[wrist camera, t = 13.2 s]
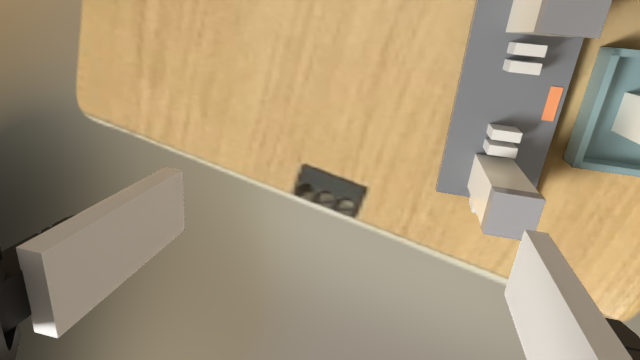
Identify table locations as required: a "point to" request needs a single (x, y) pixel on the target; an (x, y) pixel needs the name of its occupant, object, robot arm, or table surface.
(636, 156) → the tray
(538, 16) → the block
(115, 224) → the robot arm
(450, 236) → the table surface
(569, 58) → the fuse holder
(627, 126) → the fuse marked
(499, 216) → the block
